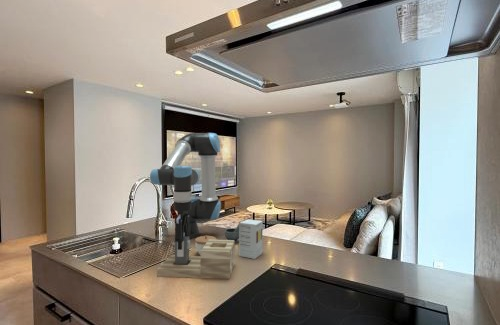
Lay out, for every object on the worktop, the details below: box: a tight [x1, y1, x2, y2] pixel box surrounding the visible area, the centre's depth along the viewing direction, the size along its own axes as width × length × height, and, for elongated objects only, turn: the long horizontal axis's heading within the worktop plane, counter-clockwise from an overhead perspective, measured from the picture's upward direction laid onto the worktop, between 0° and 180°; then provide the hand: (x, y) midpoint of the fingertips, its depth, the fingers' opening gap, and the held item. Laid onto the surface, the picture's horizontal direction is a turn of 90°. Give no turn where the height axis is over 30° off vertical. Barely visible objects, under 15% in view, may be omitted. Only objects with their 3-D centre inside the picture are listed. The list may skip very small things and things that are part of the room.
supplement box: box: [238, 219, 264, 260], centre depth 130 cm, size 10×9×17 cm
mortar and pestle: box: [224, 221, 241, 245], centre depth 150 cm, size 11×9×12 cm
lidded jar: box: [194, 235, 217, 256], centre depth 131 cm, size 11×11×9 cm
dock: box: [156, 239, 235, 280], centre depth 112 cm, size 15×30×11 cm, turn 87°
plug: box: [174, 233, 191, 265], centre depth 112 cm, size 4×6×14 cm
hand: (182, 254), depth 112 cm, fingers closed on plug, 4 cm apart
